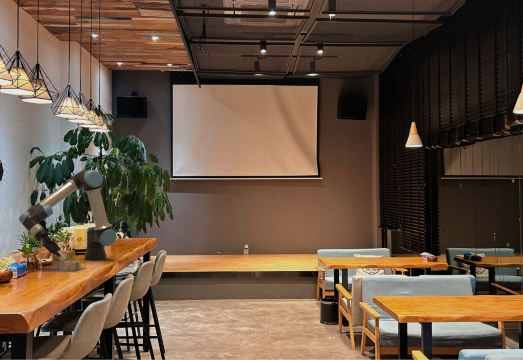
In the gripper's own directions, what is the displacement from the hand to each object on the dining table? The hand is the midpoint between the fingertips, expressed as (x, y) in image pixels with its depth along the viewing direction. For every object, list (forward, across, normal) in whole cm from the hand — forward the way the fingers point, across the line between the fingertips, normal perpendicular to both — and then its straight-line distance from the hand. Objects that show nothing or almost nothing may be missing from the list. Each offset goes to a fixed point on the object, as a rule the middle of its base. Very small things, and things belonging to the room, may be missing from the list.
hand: (64, 259), depth 307 cm
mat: (+5, -1, -5) cm, 7 cm away
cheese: (-3, -17, -12) cm, 21 cm away
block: (+1, -1, -4) cm, 5 cm away
